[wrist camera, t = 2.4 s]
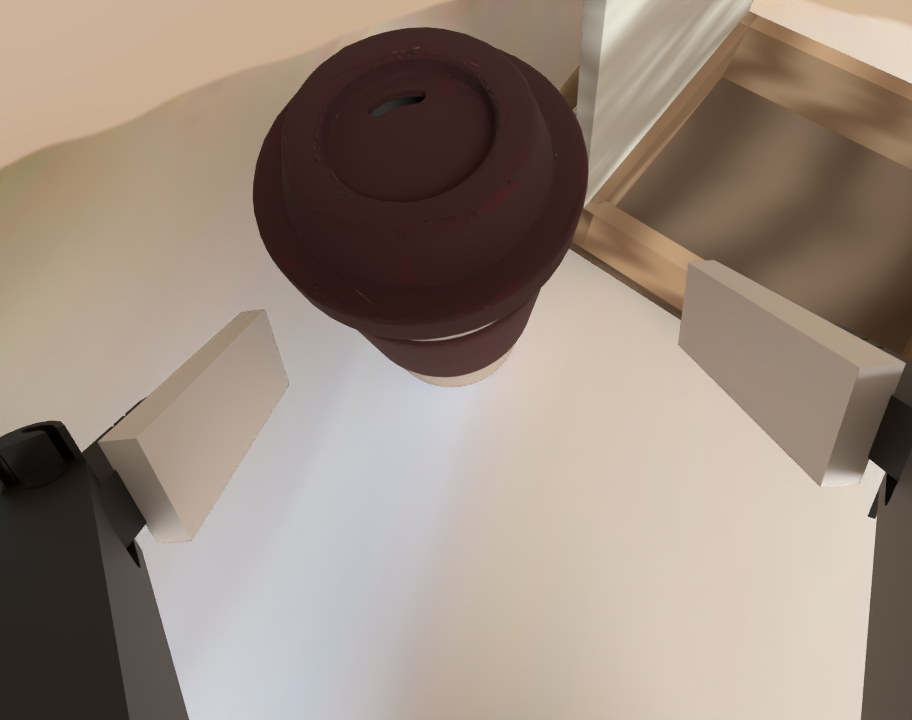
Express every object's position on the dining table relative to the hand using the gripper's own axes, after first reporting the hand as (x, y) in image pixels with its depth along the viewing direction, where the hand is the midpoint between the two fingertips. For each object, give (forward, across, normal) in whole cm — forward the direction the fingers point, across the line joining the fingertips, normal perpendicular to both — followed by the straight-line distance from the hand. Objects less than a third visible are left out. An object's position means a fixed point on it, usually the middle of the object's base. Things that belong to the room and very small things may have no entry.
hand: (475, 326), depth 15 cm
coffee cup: (+11, -1, -5) cm, 12 cm away
